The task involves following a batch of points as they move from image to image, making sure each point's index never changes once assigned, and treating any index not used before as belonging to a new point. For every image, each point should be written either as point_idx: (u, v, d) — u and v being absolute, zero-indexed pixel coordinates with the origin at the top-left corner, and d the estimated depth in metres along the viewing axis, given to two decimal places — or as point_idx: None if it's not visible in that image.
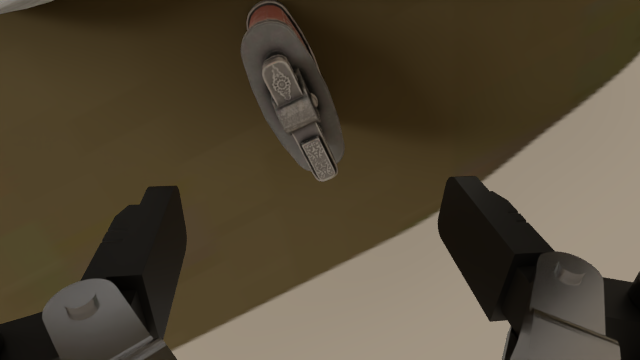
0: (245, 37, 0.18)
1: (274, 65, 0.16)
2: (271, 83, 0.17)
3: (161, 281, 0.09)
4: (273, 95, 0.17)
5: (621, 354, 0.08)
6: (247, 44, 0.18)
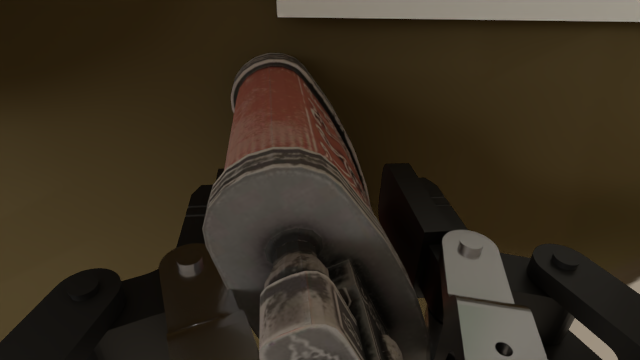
0: (214, 204, 0.07)
1: (296, 335, 0.05)
2: None
3: None
4: None
5: None
6: (220, 218, 0.07)
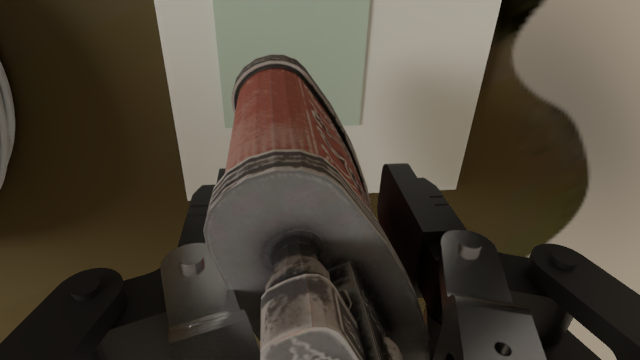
0: (215, 207, 0.07)
1: (297, 339, 0.05)
2: None
3: None
4: None
5: None
6: (221, 221, 0.07)
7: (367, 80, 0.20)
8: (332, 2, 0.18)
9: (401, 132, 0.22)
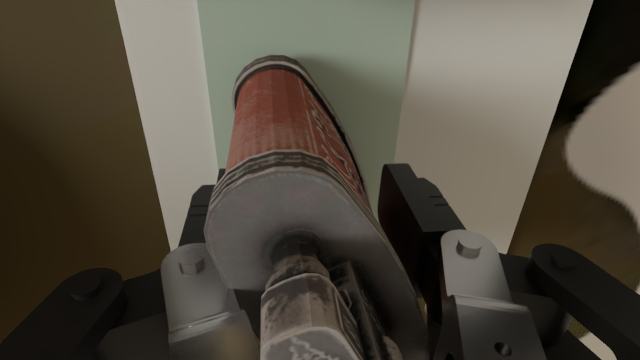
0: (215, 206, 0.07)
1: (297, 338, 0.05)
2: None
3: None
4: None
5: None
6: (221, 220, 0.07)
7: None
8: (356, 106, 0.15)
9: None
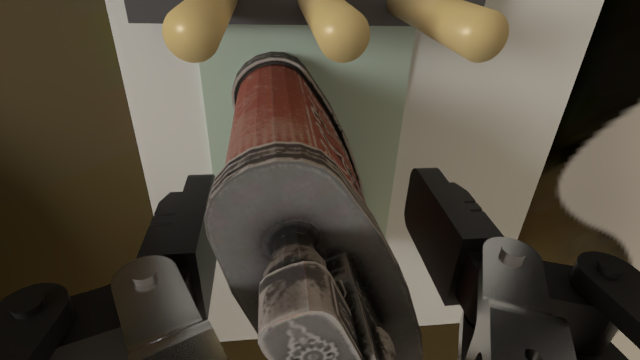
0: (216, 195, 0.07)
1: (294, 321, 0.05)
2: (283, 355, 0.06)
3: (206, 261, 0.10)
4: None
5: None
6: (222, 209, 0.07)
7: (391, 224, 0.17)
8: (353, 153, 0.15)
9: None
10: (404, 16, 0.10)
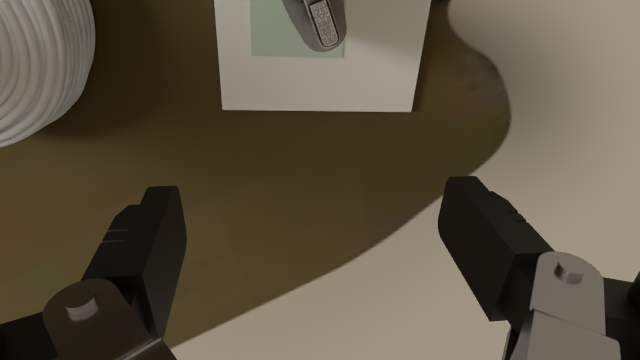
0: None
1: None
2: None
3: (161, 281, 0.09)
4: None
5: (621, 354, 0.08)
6: None
7: (347, 25, 0.30)
8: None
9: (371, 65, 0.32)
10: None
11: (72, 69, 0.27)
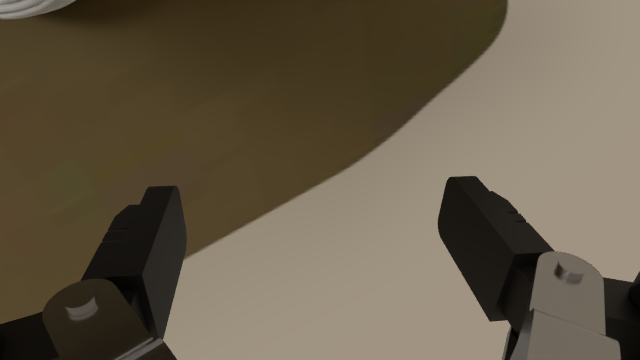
0: None
1: None
2: None
3: (161, 281, 0.09)
4: None
5: (621, 354, 0.08)
6: None
7: None
8: None
9: None
10: None
11: None
